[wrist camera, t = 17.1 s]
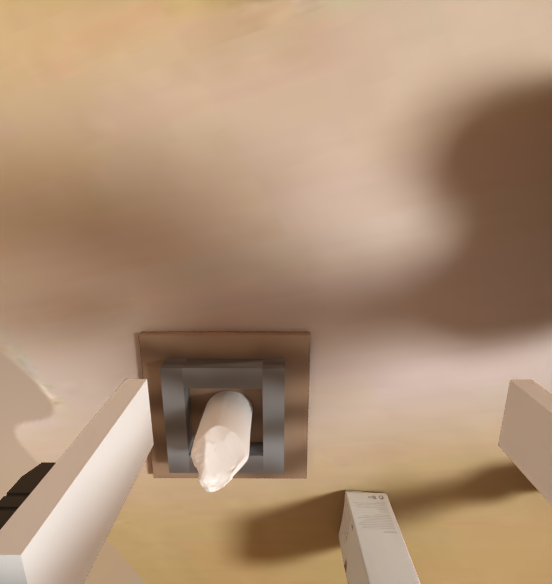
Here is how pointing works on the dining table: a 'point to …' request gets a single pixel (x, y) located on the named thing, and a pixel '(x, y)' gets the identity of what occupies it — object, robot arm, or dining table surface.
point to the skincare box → (373, 542)
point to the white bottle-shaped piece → (222, 439)
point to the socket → (229, 377)
